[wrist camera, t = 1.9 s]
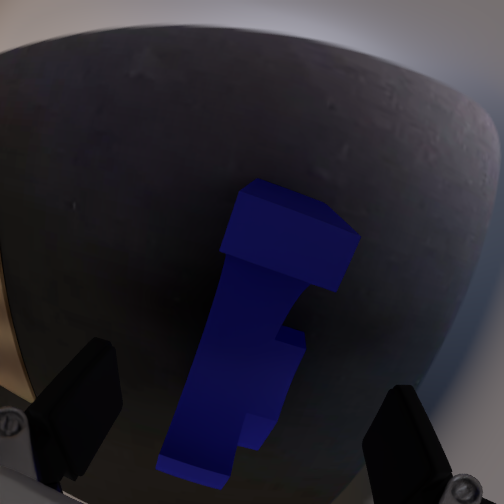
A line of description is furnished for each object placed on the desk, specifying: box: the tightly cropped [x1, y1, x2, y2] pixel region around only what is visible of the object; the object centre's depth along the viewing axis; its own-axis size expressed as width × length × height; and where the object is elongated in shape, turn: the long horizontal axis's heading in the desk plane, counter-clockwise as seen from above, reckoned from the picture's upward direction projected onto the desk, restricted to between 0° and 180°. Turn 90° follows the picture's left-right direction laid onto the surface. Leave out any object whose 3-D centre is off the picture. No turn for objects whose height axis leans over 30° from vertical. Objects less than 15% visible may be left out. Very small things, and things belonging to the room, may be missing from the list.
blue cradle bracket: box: [156, 178, 361, 490], centre depth 12 cm, size 12×4×6 cm, turn 161°
